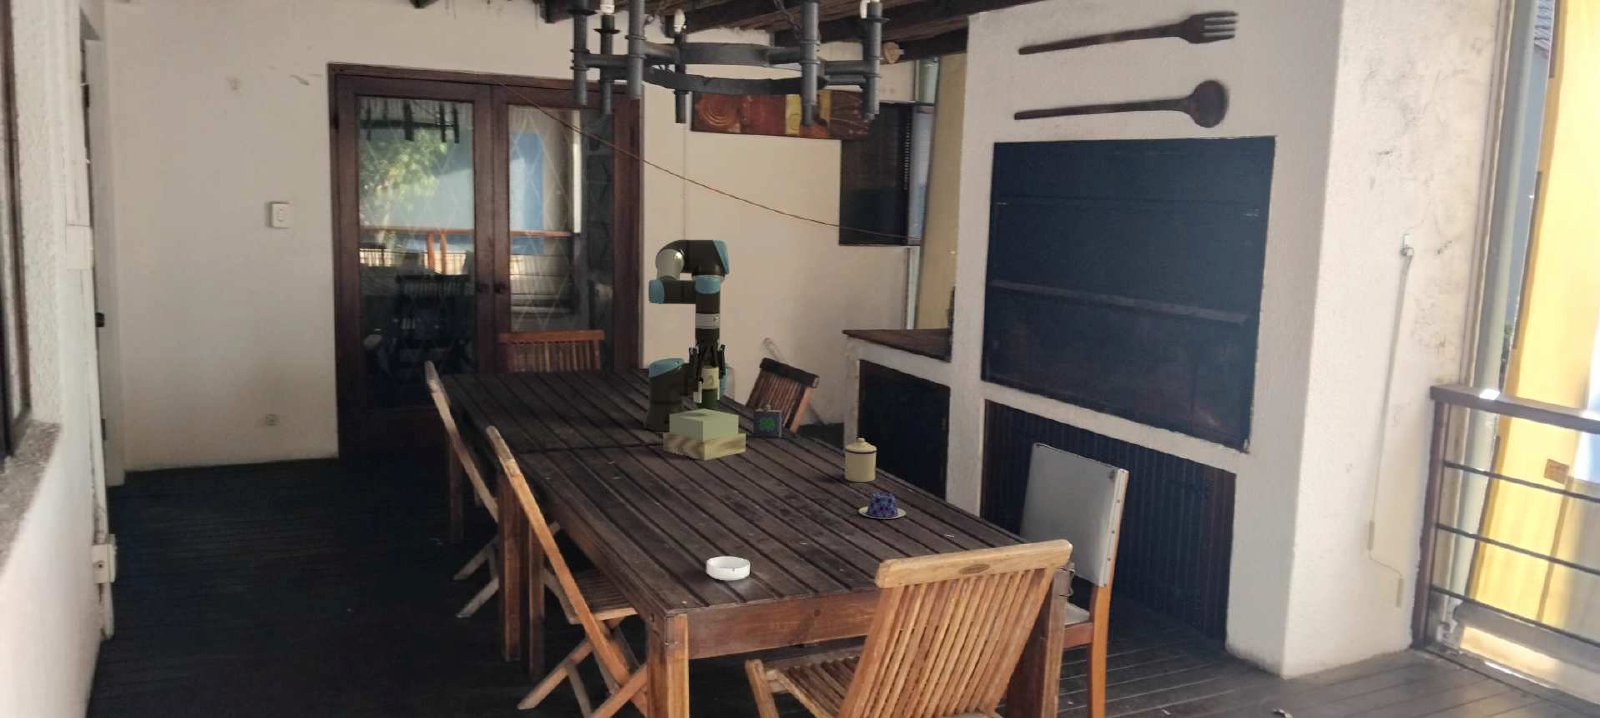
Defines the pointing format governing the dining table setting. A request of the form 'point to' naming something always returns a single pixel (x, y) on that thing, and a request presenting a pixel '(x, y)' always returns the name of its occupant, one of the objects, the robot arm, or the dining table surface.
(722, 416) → the tower top
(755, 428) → the flask
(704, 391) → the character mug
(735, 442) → the tower base
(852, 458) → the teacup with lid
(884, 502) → the pudding
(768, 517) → the dining table surface
